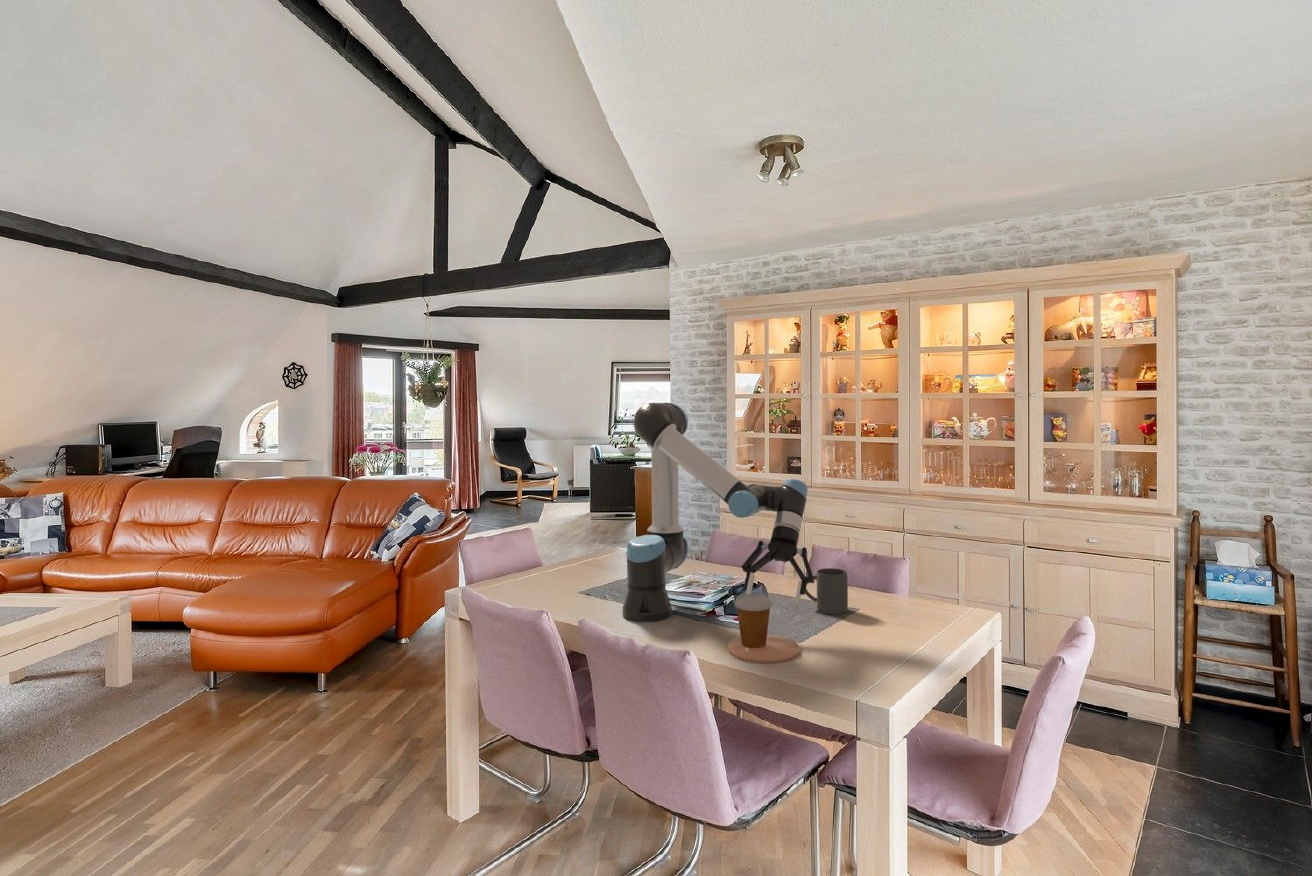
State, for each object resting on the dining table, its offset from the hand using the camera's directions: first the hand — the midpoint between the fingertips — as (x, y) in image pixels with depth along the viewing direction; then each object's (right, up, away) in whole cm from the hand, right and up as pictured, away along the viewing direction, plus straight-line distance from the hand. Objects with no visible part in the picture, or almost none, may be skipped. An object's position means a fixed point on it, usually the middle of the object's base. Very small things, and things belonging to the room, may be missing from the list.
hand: (771, 600), depth 186 cm
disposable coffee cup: (-6, -9, -10) cm, 15 cm away
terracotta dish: (-4, -10, -11) cm, 16 cm away
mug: (+20, -9, +23) cm, 32 cm away
